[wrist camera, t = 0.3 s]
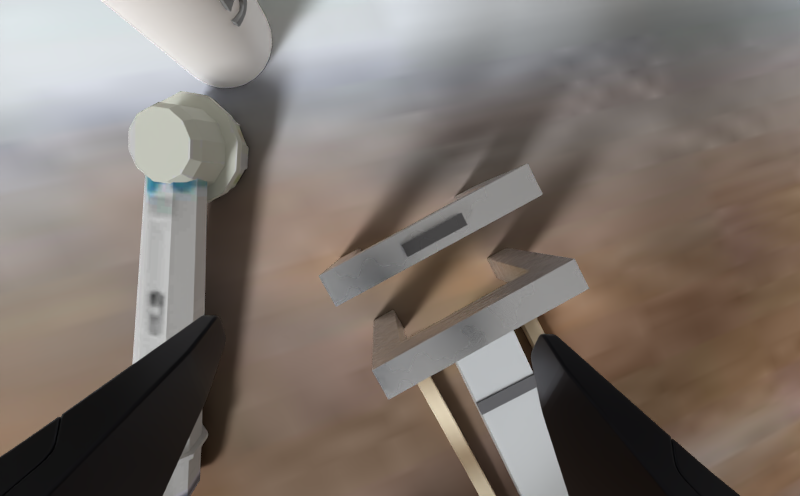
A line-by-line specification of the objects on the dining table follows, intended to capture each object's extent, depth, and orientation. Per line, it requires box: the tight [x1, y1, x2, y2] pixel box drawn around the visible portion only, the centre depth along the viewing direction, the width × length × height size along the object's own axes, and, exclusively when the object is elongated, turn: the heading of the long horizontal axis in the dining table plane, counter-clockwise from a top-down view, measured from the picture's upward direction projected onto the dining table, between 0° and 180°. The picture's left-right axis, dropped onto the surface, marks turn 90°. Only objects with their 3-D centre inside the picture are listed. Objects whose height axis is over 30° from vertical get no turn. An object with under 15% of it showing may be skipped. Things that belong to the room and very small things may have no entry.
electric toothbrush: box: [129, 91, 249, 496], centre depth 22 cm, size 5×7×25 cm
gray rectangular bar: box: [455, 330, 569, 496], centre depth 24 cm, size 16×4×4 cm, turn 26°
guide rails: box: [417, 318, 545, 496], centre depth 25 cm, size 19×10×1 cm, turn 28°
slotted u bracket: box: [319, 163, 589, 400], centre depth 20 cm, size 7×11×9 cm, turn 118°
